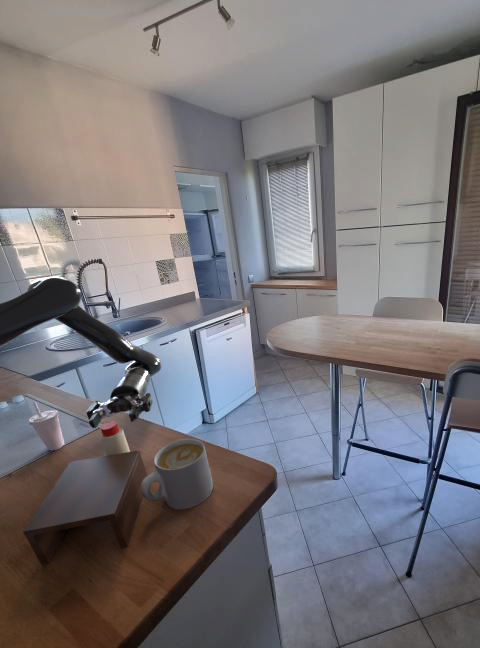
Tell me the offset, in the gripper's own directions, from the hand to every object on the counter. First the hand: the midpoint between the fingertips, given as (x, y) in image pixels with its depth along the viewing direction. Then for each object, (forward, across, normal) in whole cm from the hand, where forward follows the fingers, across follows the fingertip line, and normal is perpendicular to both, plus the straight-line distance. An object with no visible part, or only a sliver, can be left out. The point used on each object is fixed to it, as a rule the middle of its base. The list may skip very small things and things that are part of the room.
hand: (112, 421), depth 78 cm
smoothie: (-13, -21, +12) cm, 27 cm away
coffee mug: (+16, +15, +12) cm, 25 cm away
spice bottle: (+2, 0, +12) cm, 12 cm away
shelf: (+17, 0, +12) cm, 21 cm away
